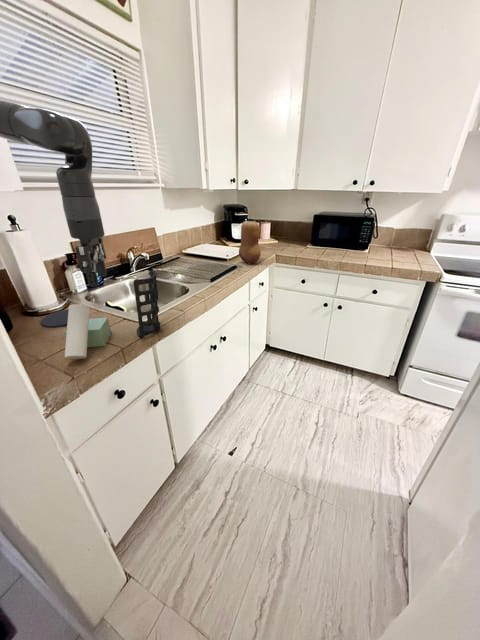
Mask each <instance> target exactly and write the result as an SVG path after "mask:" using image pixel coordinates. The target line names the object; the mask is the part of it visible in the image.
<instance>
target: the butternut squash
mask: <svg viewBox="0 0 480 640" xmlns="http://www.w3.org/2000/svg"><path fill="white" fill-rule="evenodd" d="M260 233H261V227H260V224H259V223H258V222H256V221H252V220H245V221H243V222H242V223H241V226H240V246H239V249H238V255H239V257H240V260H241V261H242V262H244V263H245V264H247V265H252V264H255V263H256V262H258V260H259V259H260V258H261V254H262V253H261V251H262V250H261V248H260V244H259V240H260V236H261V235H260ZM248 263H250V264H248Z"/></svg>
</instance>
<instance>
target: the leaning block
mask: <svg viewBox="0 0 480 640" xmlns="http://www.w3.org/2000/svg"><path fill="white" fill-rule="evenodd" d="M63 333H64V335H65V337H66V334H67V328H66V329H65V331H64V332H63ZM112 333H113V332H112V329H111V325H110V321H109V317H94V318H89V323H88V339H87V348H96V347H105V346H106V345H107V343H108V340H109V339H110V338H111V335H112Z"/></svg>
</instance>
